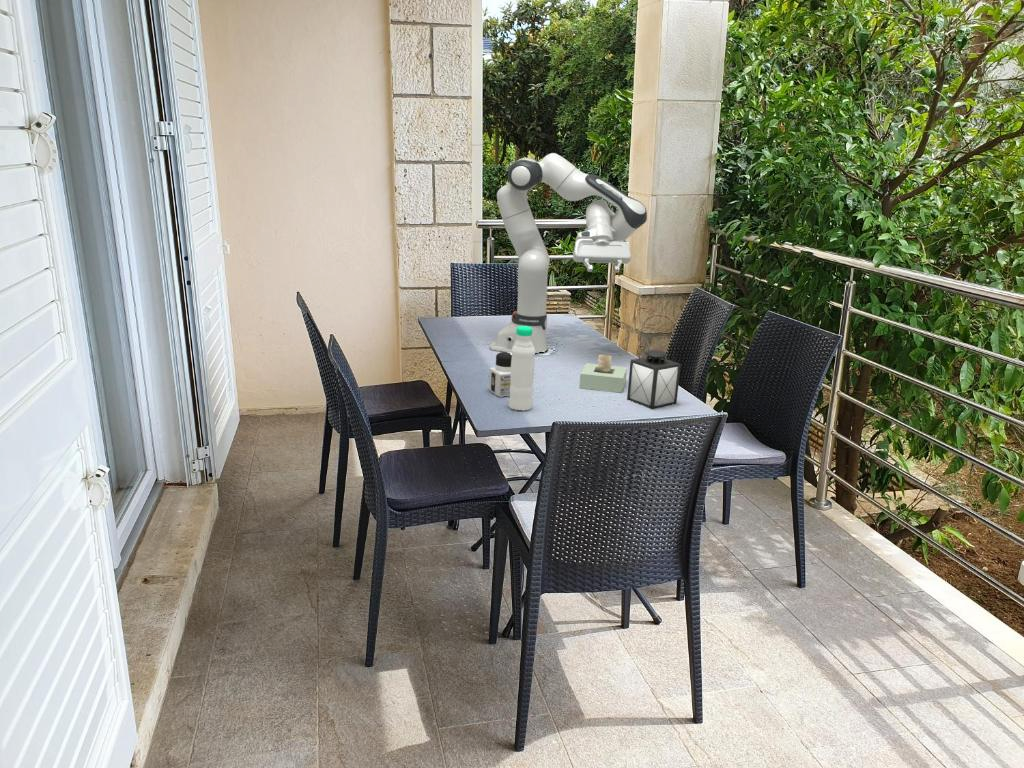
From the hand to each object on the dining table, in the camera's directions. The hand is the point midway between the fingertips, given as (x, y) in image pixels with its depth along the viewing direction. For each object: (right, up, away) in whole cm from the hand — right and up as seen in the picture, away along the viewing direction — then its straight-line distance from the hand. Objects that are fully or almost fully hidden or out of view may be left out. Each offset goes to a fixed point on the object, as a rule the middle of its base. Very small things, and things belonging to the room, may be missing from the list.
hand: (603, 271), depth 278 cm
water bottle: (-29, -47, -35) cm, 65 cm away
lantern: (+12, -45, -23) cm, 52 cm away
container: (-34, -42, -22) cm, 58 cm away
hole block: (-1, -39, -8) cm, 40 cm away
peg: (-1, -39, -8) cm, 40 cm away
